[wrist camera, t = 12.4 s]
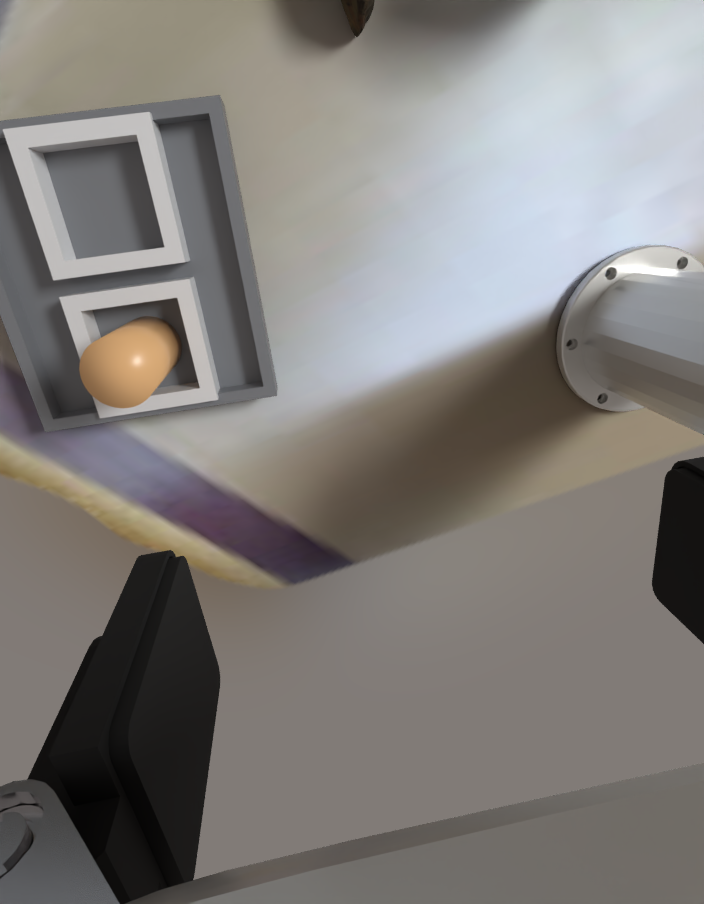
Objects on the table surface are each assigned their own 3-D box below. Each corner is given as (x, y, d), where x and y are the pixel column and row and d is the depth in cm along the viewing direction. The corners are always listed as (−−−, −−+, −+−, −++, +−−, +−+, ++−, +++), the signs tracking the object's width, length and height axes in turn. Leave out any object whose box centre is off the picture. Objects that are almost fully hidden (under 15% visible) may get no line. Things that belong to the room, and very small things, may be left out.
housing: (224, 105, 32) (218, 92, 29) (277, 386, 39) (277, 397, 36) (-46, 137, 31) (-78, 127, 28) (59, 420, 38) (42, 434, 35)
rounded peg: (173, 311, 35) (145, 331, 28) (188, 369, 37) (164, 402, 29) (113, 320, 35) (68, 342, 28) (130, 378, 37) (93, 413, 29)
